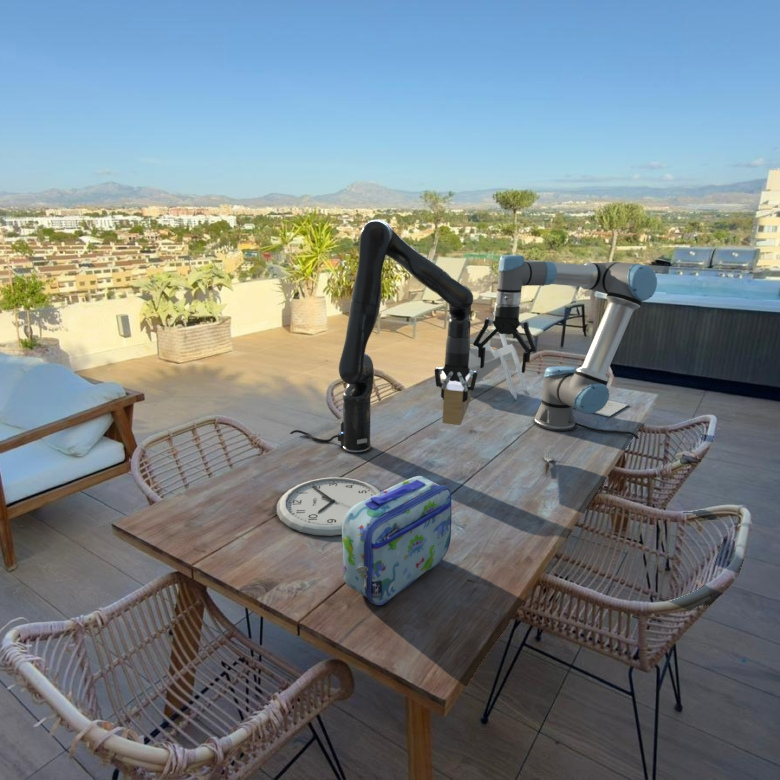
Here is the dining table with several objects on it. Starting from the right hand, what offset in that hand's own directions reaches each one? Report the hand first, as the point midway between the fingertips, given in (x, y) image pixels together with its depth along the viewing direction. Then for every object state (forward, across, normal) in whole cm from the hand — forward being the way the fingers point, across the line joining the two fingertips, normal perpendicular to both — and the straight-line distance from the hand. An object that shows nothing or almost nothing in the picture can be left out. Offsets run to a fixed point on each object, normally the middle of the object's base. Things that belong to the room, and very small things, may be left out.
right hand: (502, 369), depth 173 cm
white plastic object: (+28, -20, +62) cm, 71 cm away
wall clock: (+28, -34, -57) cm, 72 cm away
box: (+16, -14, -1) cm, 22 cm away
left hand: (+9, -13, -11) cm, 19 cm away
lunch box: (+28, -6, -78) cm, 84 cm away
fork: (+28, +18, -7) cm, 34 cm away
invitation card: (+28, +34, +64) cm, 77 cm away
